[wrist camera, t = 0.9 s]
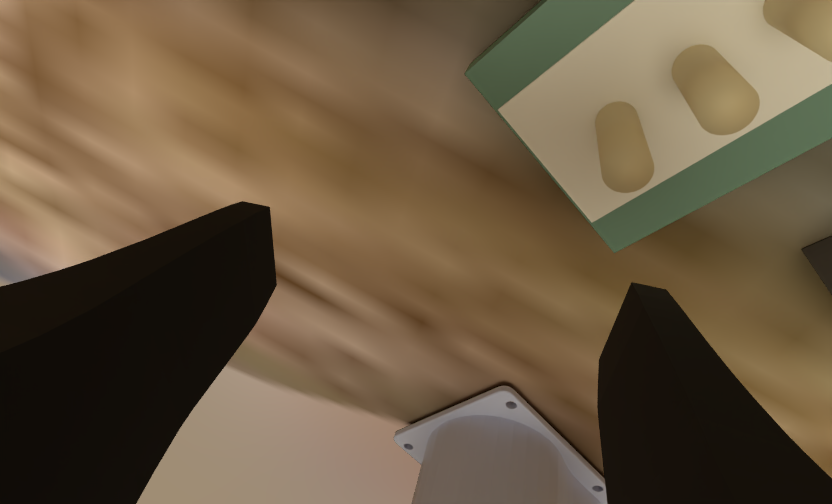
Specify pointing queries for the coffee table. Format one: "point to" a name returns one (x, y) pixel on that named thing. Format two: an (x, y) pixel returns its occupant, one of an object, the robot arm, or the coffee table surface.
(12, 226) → the coffee table surface
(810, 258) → the block
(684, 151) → the green and cream box
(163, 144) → the coffee table surface
